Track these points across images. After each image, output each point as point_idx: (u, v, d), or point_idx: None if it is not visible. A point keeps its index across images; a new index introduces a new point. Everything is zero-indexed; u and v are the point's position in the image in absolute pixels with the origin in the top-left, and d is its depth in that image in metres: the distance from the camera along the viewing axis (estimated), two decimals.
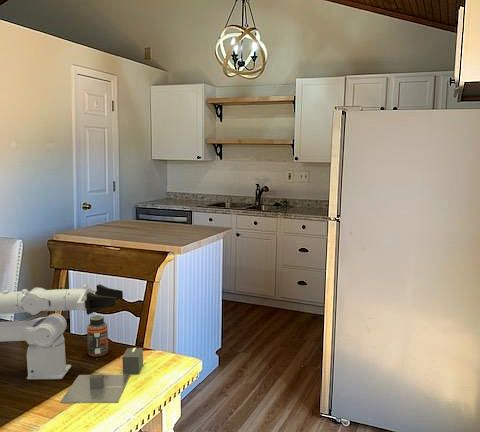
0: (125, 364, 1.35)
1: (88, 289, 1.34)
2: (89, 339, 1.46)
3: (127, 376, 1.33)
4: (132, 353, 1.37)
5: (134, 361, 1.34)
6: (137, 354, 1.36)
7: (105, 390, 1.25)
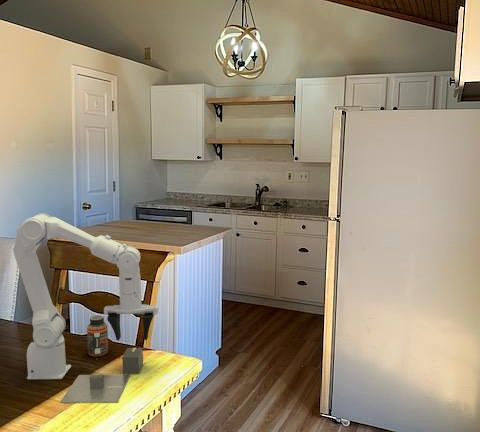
0: (125, 364, 1.35)
1: None
2: (89, 339, 1.46)
3: (127, 376, 1.33)
4: (132, 353, 1.37)
5: (134, 361, 1.34)
6: (137, 354, 1.36)
7: (105, 390, 1.25)
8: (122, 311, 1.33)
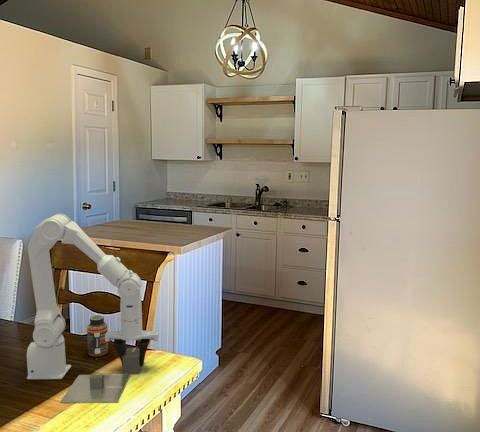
0: (125, 364, 1.35)
1: None
2: (89, 339, 1.46)
3: (127, 376, 1.33)
4: (132, 353, 1.37)
5: (134, 361, 1.34)
6: (137, 354, 1.36)
7: (105, 390, 1.25)
8: (123, 338, 1.34)
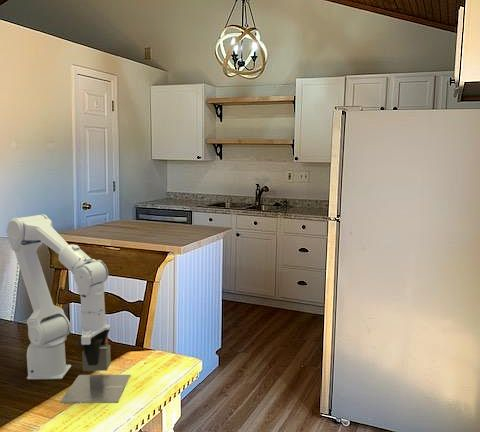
0: None
1: None
2: None
3: (127, 376, 1.33)
4: None
5: None
6: None
7: (105, 390, 1.25)
8: None
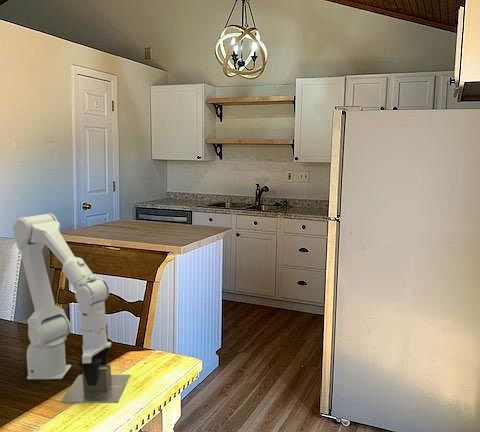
0: None
1: None
2: None
3: (127, 376, 1.33)
4: None
5: None
6: None
7: None
8: None
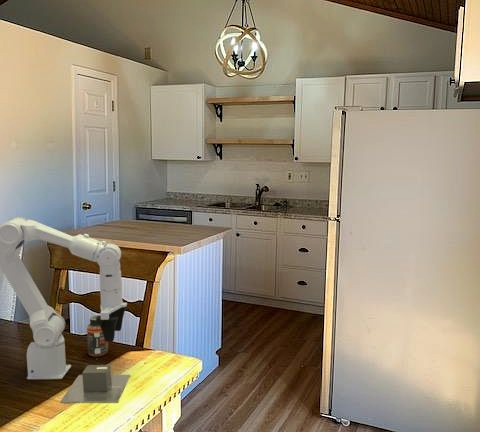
0: None
1: None
2: (89, 339, 1.46)
3: (127, 376, 1.33)
4: (93, 369, 1.26)
5: None
6: (89, 371, 1.25)
7: None
8: None
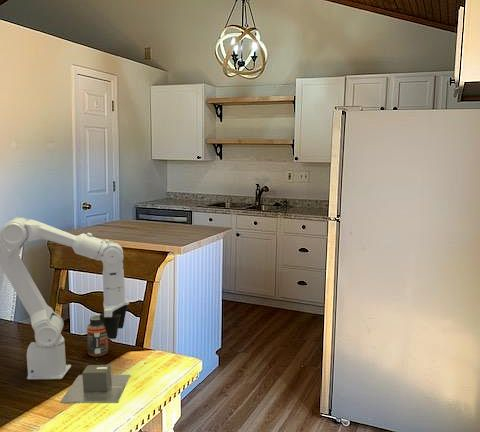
0: None
1: None
2: (89, 339, 1.46)
3: (127, 376, 1.33)
4: (93, 369, 1.26)
5: None
6: (89, 371, 1.25)
7: None
8: None
